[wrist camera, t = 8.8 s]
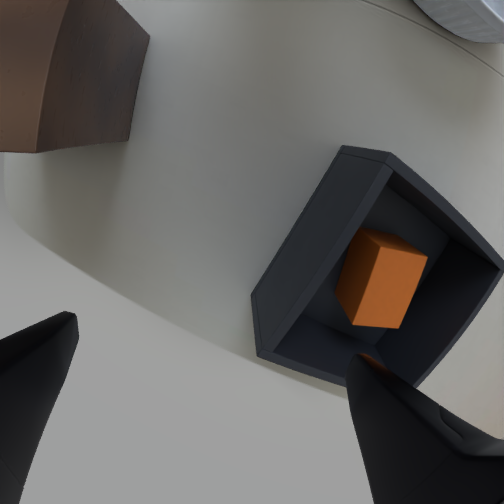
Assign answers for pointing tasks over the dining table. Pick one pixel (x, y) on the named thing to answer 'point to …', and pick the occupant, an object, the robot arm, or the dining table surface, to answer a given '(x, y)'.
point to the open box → (332, 260)
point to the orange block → (378, 278)
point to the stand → (67, 73)
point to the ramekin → (468, 18)
